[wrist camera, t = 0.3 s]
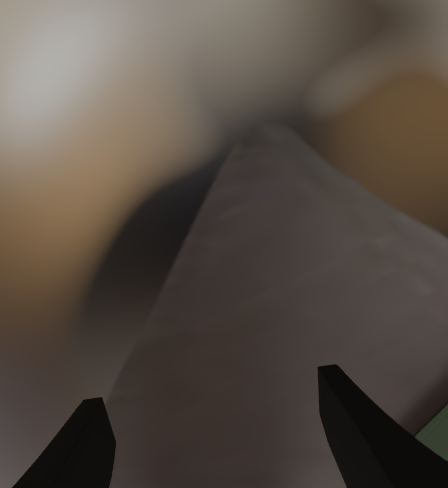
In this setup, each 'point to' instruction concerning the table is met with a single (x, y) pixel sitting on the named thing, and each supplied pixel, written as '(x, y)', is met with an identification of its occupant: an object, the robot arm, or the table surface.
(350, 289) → the table surface
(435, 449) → the green open tray
